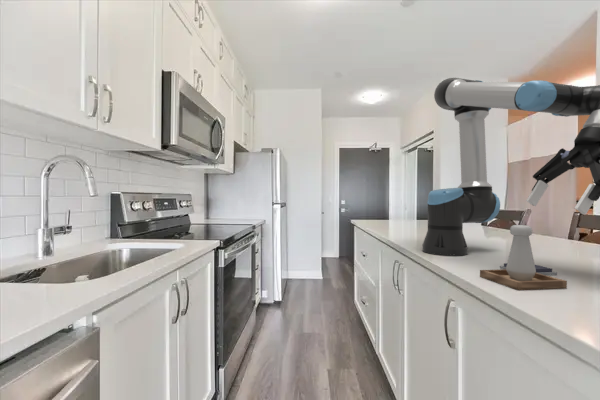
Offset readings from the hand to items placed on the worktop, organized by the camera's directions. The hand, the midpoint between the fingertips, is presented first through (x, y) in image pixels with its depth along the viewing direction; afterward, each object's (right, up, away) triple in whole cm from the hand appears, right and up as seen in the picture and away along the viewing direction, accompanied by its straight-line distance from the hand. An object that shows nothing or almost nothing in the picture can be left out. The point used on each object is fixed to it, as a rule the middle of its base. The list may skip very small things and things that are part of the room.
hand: (553, 207), depth 81 cm
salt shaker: (-11, -17, -4) cm, 21 cm away
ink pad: (-1, -18, +7) cm, 19 cm away
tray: (-11, -18, -4) cm, 21 cm away
